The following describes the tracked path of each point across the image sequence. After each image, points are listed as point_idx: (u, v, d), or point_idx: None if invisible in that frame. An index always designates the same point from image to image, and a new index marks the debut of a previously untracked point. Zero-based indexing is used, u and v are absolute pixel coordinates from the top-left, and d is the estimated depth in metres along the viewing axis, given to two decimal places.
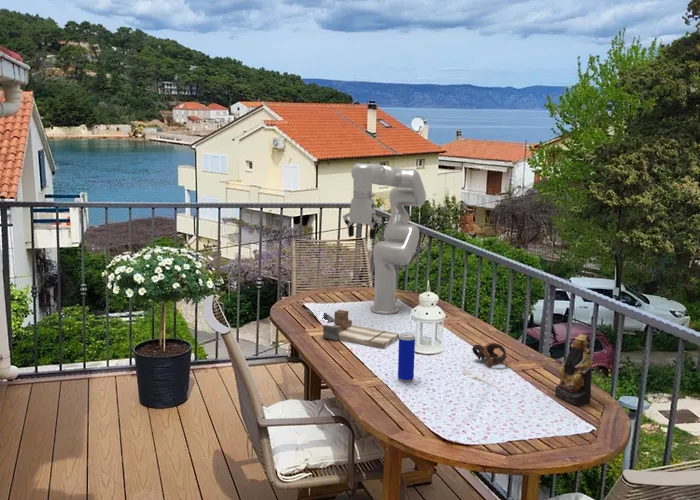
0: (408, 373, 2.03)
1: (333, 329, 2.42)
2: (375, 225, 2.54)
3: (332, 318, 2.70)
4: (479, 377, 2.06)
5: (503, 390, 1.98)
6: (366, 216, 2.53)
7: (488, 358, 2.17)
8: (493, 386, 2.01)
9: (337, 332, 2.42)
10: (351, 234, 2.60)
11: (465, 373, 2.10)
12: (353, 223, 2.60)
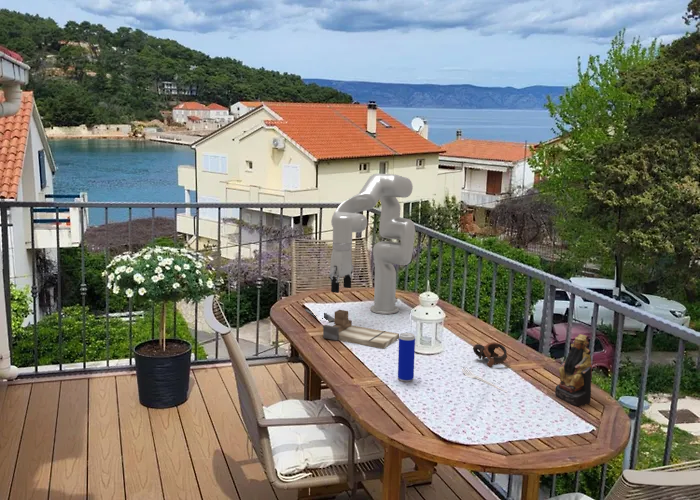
0: (408, 373, 2.03)
1: (333, 329, 2.42)
2: (351, 273, 2.52)
3: (332, 318, 2.70)
4: (479, 377, 2.06)
5: (503, 390, 1.98)
6: (350, 266, 2.48)
7: (489, 358, 2.18)
8: (493, 386, 2.01)
9: (337, 332, 2.42)
10: None
11: (465, 373, 2.11)
12: None
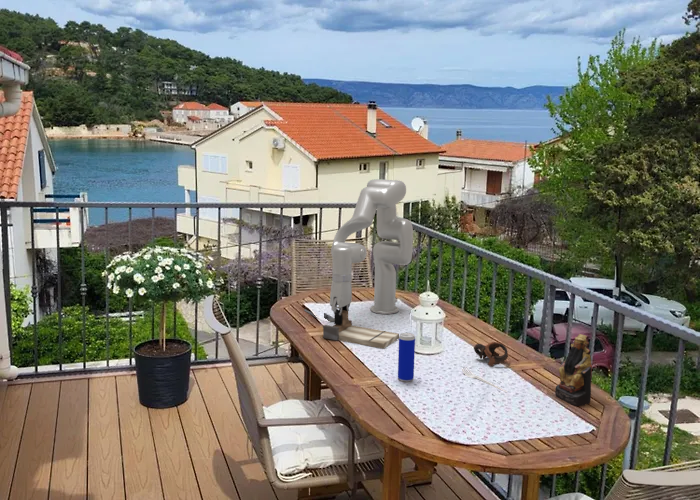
0: (408, 373, 2.03)
1: (333, 329, 2.42)
2: None
3: (333, 318, 2.71)
4: (479, 377, 2.06)
5: (503, 390, 1.98)
6: (350, 296, 2.50)
7: (490, 357, 2.18)
8: (493, 386, 2.01)
9: (337, 332, 2.42)
10: None
11: (465, 373, 2.11)
12: None
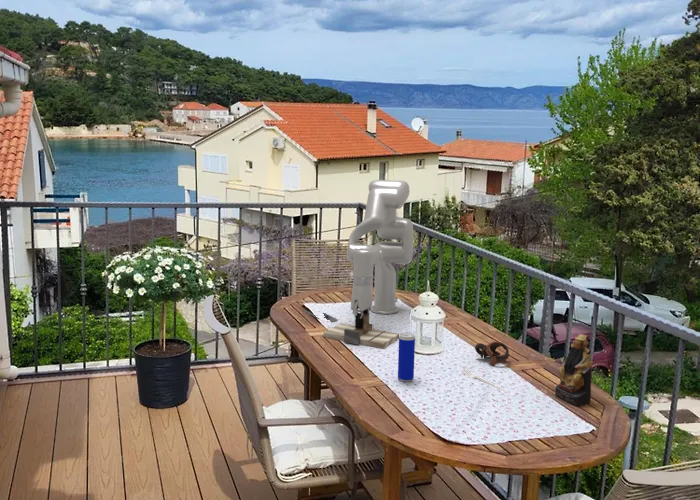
0: (408, 373, 2.03)
1: (354, 333, 2.38)
2: None
3: (333, 318, 2.71)
4: (479, 377, 2.06)
5: (504, 390, 1.98)
6: (371, 299, 2.46)
7: (491, 356, 2.19)
8: (494, 386, 2.01)
9: (359, 336, 2.38)
10: None
11: (465, 373, 2.11)
12: None
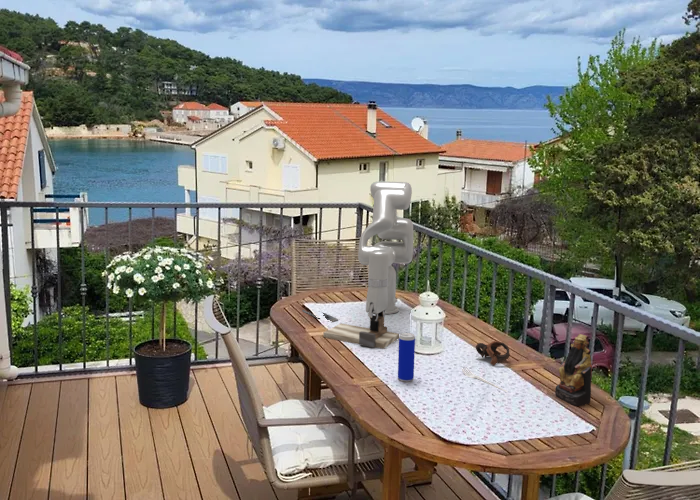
0: (408, 373, 2.03)
1: (370, 336, 2.35)
2: (383, 312, 2.45)
3: (334, 318, 2.71)
4: (479, 377, 2.07)
5: (504, 390, 1.98)
6: (386, 302, 2.43)
7: (492, 356, 2.19)
8: (494, 386, 2.01)
9: (374, 339, 2.35)
10: None
11: (465, 373, 2.11)
12: None
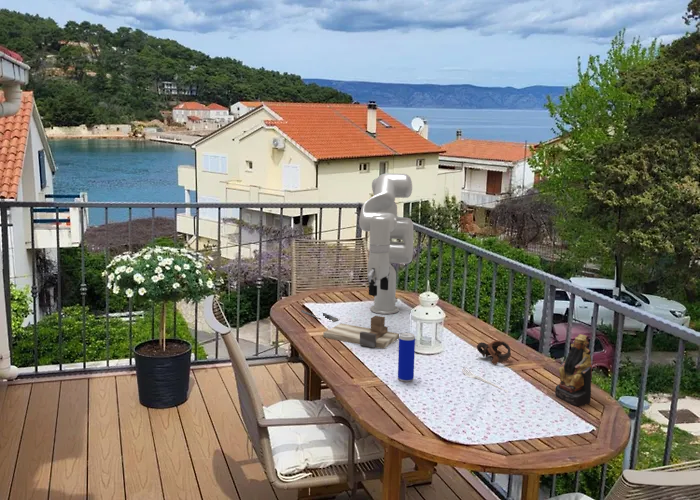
0: (408, 373, 2.03)
1: (370, 336, 2.34)
2: (388, 275, 2.45)
3: (335, 317, 2.71)
4: (479, 377, 2.07)
5: (504, 389, 1.98)
6: (388, 268, 2.40)
7: (493, 355, 2.20)
8: (494, 386, 2.01)
9: (375, 339, 2.35)
10: None
11: (465, 373, 2.11)
12: None
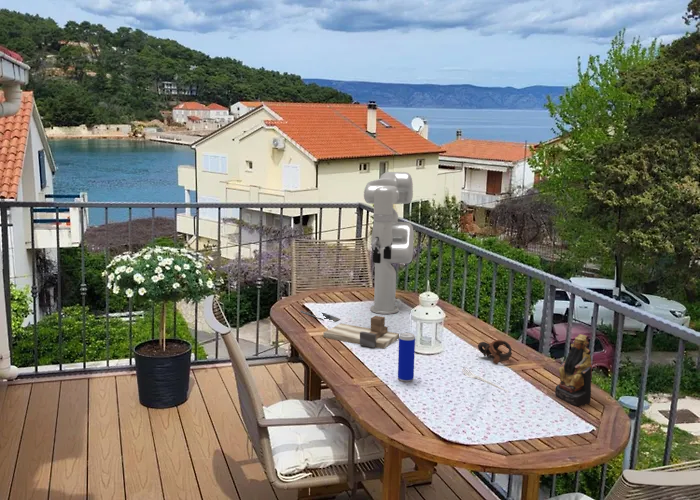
0: (408, 373, 2.03)
1: (370, 336, 2.34)
2: (391, 244, 2.59)
3: (335, 317, 2.72)
4: (480, 377, 2.07)
5: (504, 389, 1.98)
6: (391, 237, 2.54)
7: (495, 355, 2.20)
8: (494, 385, 2.01)
9: (375, 339, 2.35)
10: None
11: (465, 373, 2.11)
12: None
